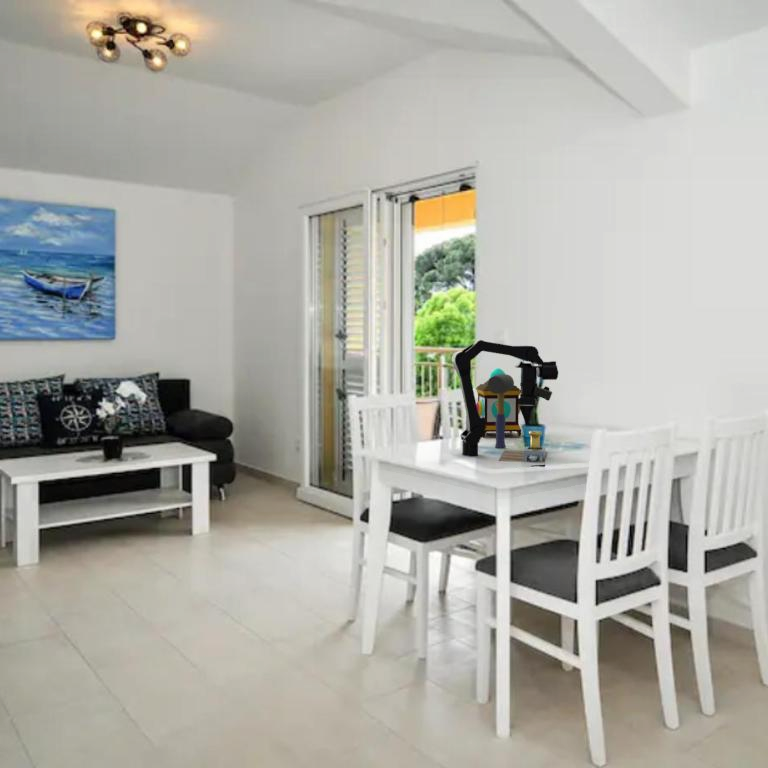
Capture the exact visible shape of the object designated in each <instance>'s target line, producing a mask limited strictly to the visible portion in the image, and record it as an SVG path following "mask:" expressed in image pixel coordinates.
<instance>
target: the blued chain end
mask: <svg viewBox="0 0 768 768" xmlns="http://www.w3.org/2000/svg"><path fill="white" fill-rule="evenodd" d="M545 450H546V446H540V450H539V449H531V446H525V448H523V451H524V462H523V463H528V462H527V460H528V459H529V461H530V462H529V463H538V462H537V460H540V462H542V460H544V457H545Z"/></svg>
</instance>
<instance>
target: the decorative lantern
mask: <svg viewBox="0 0 768 768" xmlns="http://www.w3.org/2000/svg"><path fill="white" fill-rule="evenodd" d="M498 374H506V373H505V371H504V370H502V368H499V367H498V368H495V369H493V371H492V372H490V375H489V379H490V378H491V377H493V376H495V375H498ZM487 384H488V380H486V381H485V382H484V383H480V384H479V385H478V386H477V387H475V391H476V393H477V402H476V406H477V411H478V414H479V416H480V415H481V416H483V417H484V419H485V426H486V427H487V428H485V434H484V435H483V437H482V438H483V439H485V438H486V435H487V434H486V433H489V432H490V433H491V432H493V433H496V416H497V407H498V394H495V393H492V392H491V391H490V390H489V389H488V385H487ZM520 394H521V388H519V387H518V386H517V385H515V384H514V386H513V388H512V389H511V390H510V391H508V392H506V393H504V415H505V433H506V432H508V433H510V434H511V433H513V432H517V433H516V435H517V438H521V437H522V429H521V426H520V423H519V414H520V413H521V410H520V408H519V405H518V399H519V398H520Z"/></svg>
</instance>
